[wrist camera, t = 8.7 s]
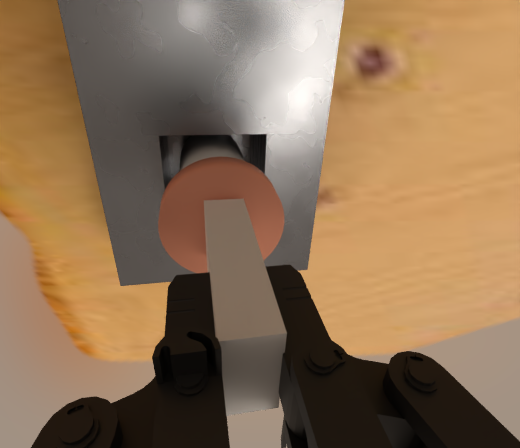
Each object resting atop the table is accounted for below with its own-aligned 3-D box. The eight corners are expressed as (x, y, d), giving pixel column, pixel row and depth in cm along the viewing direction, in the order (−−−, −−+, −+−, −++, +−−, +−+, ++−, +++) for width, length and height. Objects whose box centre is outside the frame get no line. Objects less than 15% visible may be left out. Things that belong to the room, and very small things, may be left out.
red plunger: (163, 117, 18) (150, 169, 12) (254, 116, 19) (289, 165, 13) (171, 200, 21) (165, 281, 14) (252, 196, 22) (280, 271, 15)
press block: (33, -346, 12) (-79, -616, 7) (327, -283, 14) (407, -455, 9) (134, 230, 24) (120, 286, 19) (283, 221, 26) (307, 269, 21)
